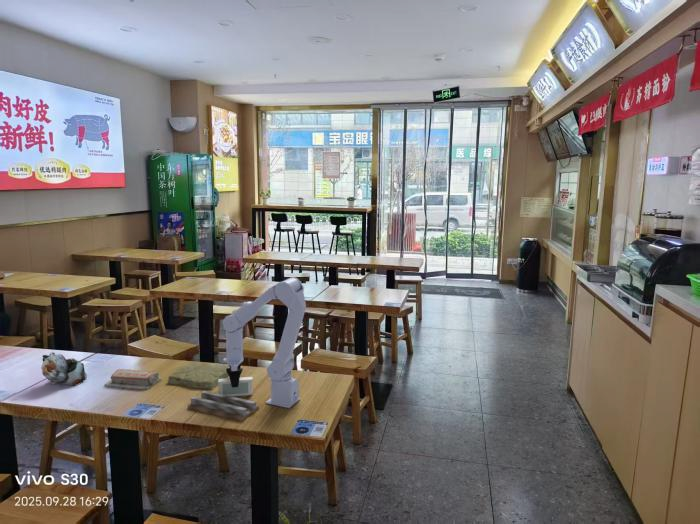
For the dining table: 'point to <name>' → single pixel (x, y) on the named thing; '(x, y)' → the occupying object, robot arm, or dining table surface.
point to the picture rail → (223, 405)
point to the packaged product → (134, 379)
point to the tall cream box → (242, 389)
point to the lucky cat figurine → (63, 370)
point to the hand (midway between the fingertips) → (235, 382)
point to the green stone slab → (199, 375)
